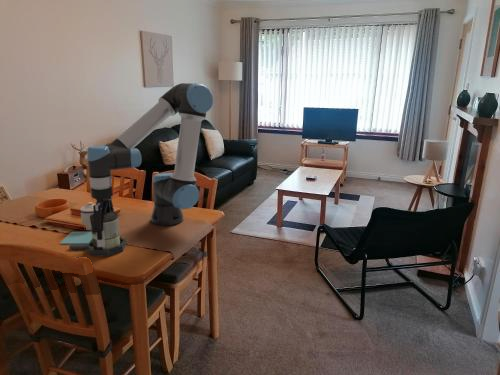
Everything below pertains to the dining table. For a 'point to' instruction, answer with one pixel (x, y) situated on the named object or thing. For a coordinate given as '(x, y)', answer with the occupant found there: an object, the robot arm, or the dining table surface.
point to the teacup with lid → (87, 215)
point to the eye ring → (99, 251)
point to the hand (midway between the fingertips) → (106, 240)
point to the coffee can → (107, 230)
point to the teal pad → (78, 238)
